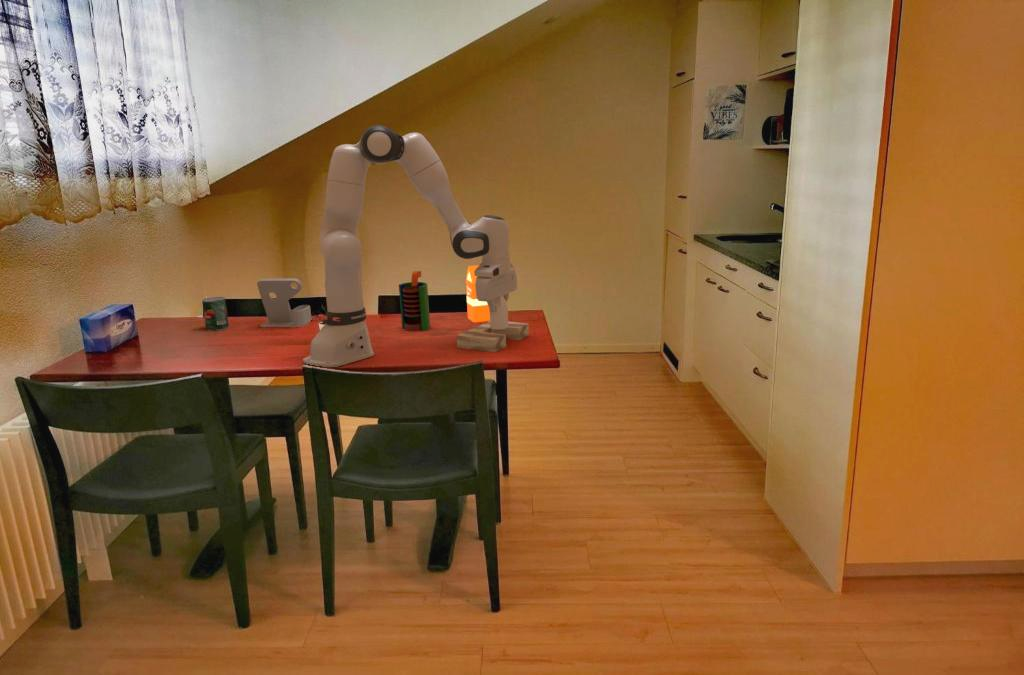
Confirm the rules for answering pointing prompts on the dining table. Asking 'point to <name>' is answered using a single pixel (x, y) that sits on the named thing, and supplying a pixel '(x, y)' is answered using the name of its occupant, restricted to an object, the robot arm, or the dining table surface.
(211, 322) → the canned tomato
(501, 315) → the grey rounded cylinder
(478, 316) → the orange juice
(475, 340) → the notched board
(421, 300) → the motor
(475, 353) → the dining table surface
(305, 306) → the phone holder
